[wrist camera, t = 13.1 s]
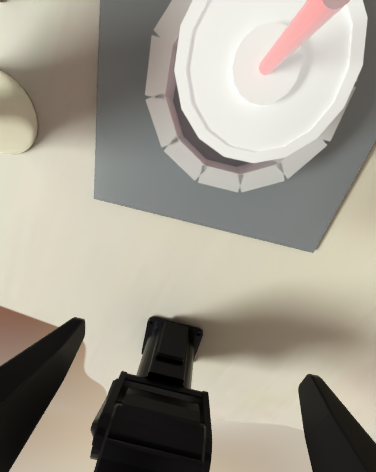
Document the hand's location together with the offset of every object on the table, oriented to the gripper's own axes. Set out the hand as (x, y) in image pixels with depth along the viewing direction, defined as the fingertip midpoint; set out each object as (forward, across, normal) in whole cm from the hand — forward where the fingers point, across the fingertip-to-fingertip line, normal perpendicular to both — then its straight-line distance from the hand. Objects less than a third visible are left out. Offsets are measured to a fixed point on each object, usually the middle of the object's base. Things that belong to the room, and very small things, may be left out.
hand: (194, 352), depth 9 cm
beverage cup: (+13, 0, -10) cm, 16 cm away
